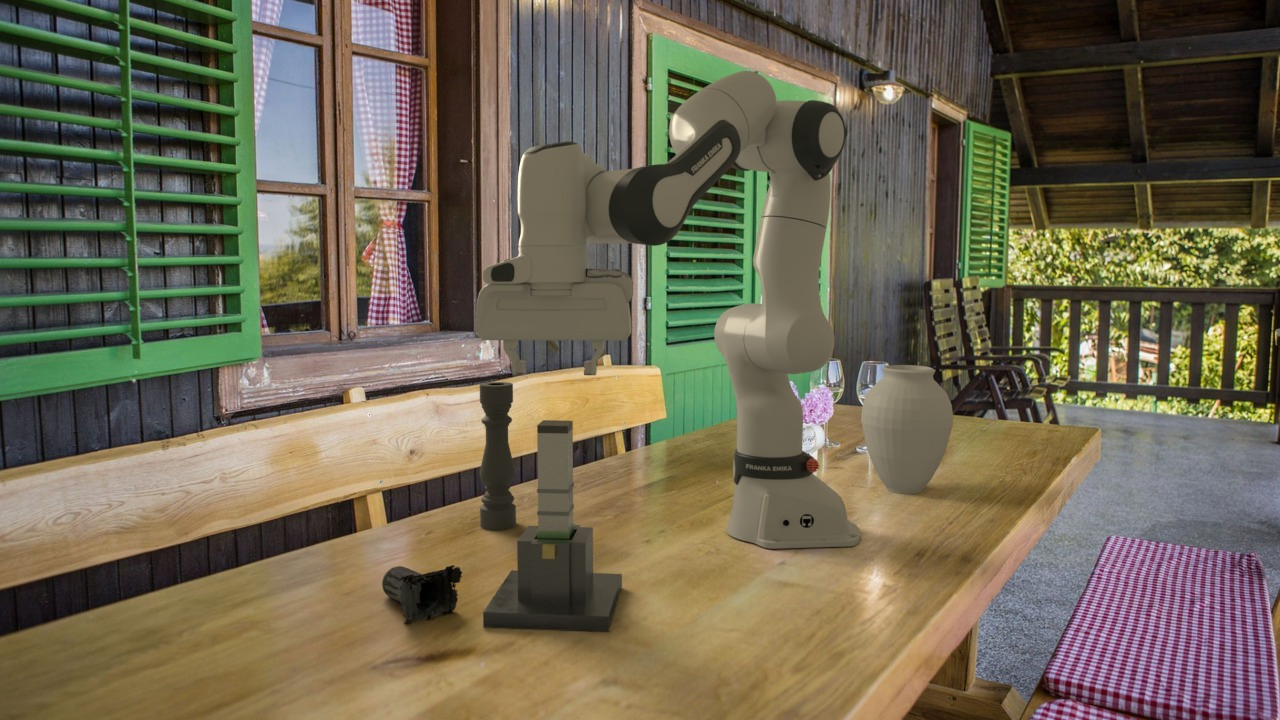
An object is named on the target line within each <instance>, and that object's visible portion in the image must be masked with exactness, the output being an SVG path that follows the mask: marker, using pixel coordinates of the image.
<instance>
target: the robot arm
mask: <svg viewBox="0 0 1280 720" xmlns="http://www.w3.org/2000/svg"><path fill="white" fill-rule="evenodd" d="M668 131H669V133H668V135H669V141H670V144H671V147H672V149H673V152H674V153H675V155H674V156H673V157H672V158H671V159H670V160H669V161H667V162H666V163H662V164H661V163H659V164H658V163H657V164H652V165H646V166H644V165H643V166H641V167H635V168H634V167H633V168H628V169H627V168H626V169H617V170H608V169H607V168H604V167H603V166H600V165H599V164H597V162H595V161H593V160H592V159H591V158H590V157H588V156H587V155H586V153H584V152H583V150H582V148H581V145H580V144H579V143H578V142H574V141H561V142H560V141H559V142H554V143H547V144H541V145H540V144H539V145H535V146H531V147H529V148H527V149H526V150H525V151H524V153H523V154H522V156H521V159H520V162H519V168H518V174H517V175H518V176H517V215H518V218H519V221H520V236H519V239H518V245H517V246H518V254H517V256H515V257H513V258H506V259H504V260H503V261H500V262H497V263H494V264H492V265H491V264H490V265H488V266H486V267H484V268H483V269H482V280H483V282H484V283H485V284H486V285H485V286H483V287H482V288H481V289H480V291H479V292H478V297H477V302H476V308H475V309H476V310H475V334H476V335H477V336H478V338H479V339H481V341H502V344H503V345H502V346H503V347H502V348H503V349H502V350H503V351H504V352H505V354H506V355H507V357H508V359H509V361H510V362H511V366H512V367H511V368H512V369H511V370H512V375H513V376H524V375H526V374H527V368H526V366H527V361H526V360H524V359H523V360H522V359H520V357H519V355H518V354H517V353H516V351H515V348H517V347H518V341H569V342H570V341H576V342H577V341H580V342H581V341H591V346H592V347H591V348H592V350H595V352H594V353H593V355H592V357H591V359H590V360H585V361H583V368H584V370H583V375H584V376H596V375H597V373H598V370H597V369H598V367H597V361H598V360H599V359H600V357H601V355H602V353H603V352H604V350H605V347H606V342H607V341H608V342H609V341H610V342H611V341H613V342H615V341H616V342H617V341H619V342H620V341H626V340H627V339H628V338H629V337H630V335H631V334H632V317H631V316H632V315H631V309H630V302H631V301H632V299H633V297H634V282H633V279H632V277H631V276H630V275H629V274H628V273H626V272H624V271H622V269H620V268H611V269H603V268H602V269H601V268H588V245H587V243H590V244H611V245H613V244H634V245H635V244H636V245H643V246H652V247H655V246H661V245H664V244H666V243H668V242H670V241H671V240H672V239H673V238H674V237H676V236H677V234H678V233H679V232H680V230H681V228H682V226H684V225H683V224H684V223H685V222H686V220H687V218H688V216H689V214H690V212H691V211H692V209H693V208H694V206H695V205H696V204H697V202H699V200H700V199H701V198H702V197H703V196H704V195H705V194H706V193H707V192H708V191H709V190H710V189H711V188H712V187H713V186H715V184H716V183H717V182H718V181H719V180H720V179H721V178H722V177H723V176H724V175H725V174H726V173H727V172H728V171H729V170H730V168H732V169H735V170H739V171H742V172H743V171H745V172H749V171H754V172H755V171H756V172H761V173H762V172H763V173H768V174H769V180H770V181H769V182H770V184H769V187H768V189H767V193H766V196H765V199H764V202H763V207H762V212H761V215H760V221H759V224H758V225H759V226H758V232H757V236H756V241H755V246H754V253H753V256H752V257H753V258H752V263H753V264H752V265H753V268H754V270H755V272H756V273H757V275H758V276H759V281H760V285H761V297H762V299H761V303H756V302H755V303H751V302H750V303H749V302H748V303H744V304H741V305H737V306H734V307H731V308H729V309H726V310H725V311H724V312H722V313H721V314H720V316H719V318H717V320H716V324H715V327H714V332H713V336H714V342H715V345H716V348H717V350H718V351H719V352H720V353H721V355H722V357H723V358H724V361H725V362H726V366H727V369H728V372H729V376H730V380H731V384H732V388H733V393H734V398H735V405H736V449H735V450H734V453H733V457H732V458H733V461H732V466H733V467H732V474H733V475H732V478H733V482H734V492H733V499H732V504H731V510H730V514H729V519H728V522H727V526H726V528H725V531H726V533H727V535H730V536H731V537H732V538H734V539H738V540H740V541H745V542H747V543H753V544H754V545H755V544H756V545H757V546H760V547H762V548H764V549H769V550H770V549H774V550H775V549H776V550H777V549H801V548H803V549H804V548H808V549H809V548H832V547H833V548H834V547H835V548H837V547H854V546H856V545H858V544H859V543H860V542H861V532H860V529H859V527H858V526H857V525H856V524H855V523H854V522H852V521H851V520H848V513H847V509H846V505H845V502H844V500H843V498H842V497H841V496H840V494H839V493H837V491H835V490H834V489H833V488H831V487H830V486H829V485H828V484H826V483H825V482H824V481H823V480H822V479H820V478H819V477H818V476H817V475H815V474H814V473H816V472H817V471H818V470H819V469H820V463H819V461H818V460H817V459H816V458H814V456H812V455H811V454H810V453H809V452H805V451H804V450H803V438H804V437H803V435H804V433H803V432H804V409H803V404H802V403H801V401H800V399H799V398H798V397H797V395H796V393H795V392H794V389H793V388H792V385H791V382H790V379H789V375H798V374H807V373H811V372H812V373H813V372H816V371H818V370H821V368H823V367H824V366H825V365H826V364H828V362H829V360H830V359H831V357H832V354H833V352H834V349H835V333H834V330H833V327H832V325H831V323H830V321H829V320H828V318H827V317H826V316H825V314H824V311H823V306H822V301H821V295H820V281H819V280H820V267H821V261H822V256H823V250H824V243H825V238H826V234H827V233H826V232H827V229H828V228H827V227H828V223H829V222H828V221H829V214H830V205H831V203H830V202H831V176H830V173H831V171H832V169H833V168H834V165H835V164H836V163H837V161H838V160H839V158H840V156H841V155H842V152H843V150H844V147H845V143H846V135H847V133H846V123H845V121H844V117H843V116H842V114H841V112H840V111H839V109H838V107H836V106H835V105H834V104H832V103H829V102H826V101H823V100H816V99H811V100H807V101H805V100H777V96H776V93H775V90H774V88H773V86H772V84H771V83H770V81H768V79H767V78H765V76H763V75H761V74H759V73H757V72H755V71H751V70H741V71H737V72H735V73H732V74H728V75H726V76H724V77H721V78H720V79H718V80H715V81H712V83H709V84H708V85H706V86H704V87H703V88H702V89H700V90H699V91H696V93H694V94H693V95H691V96H690V97H689V98H687V99H686V100H685V101H684V102H683V103H681V104H680V106H679V107H678V108H677V109H676V111H674V113H672V116H671V117H670V121H669V127H668ZM622 276H623V277H622Z"/></svg>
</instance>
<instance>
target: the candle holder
mask: <svg viewBox="0 0 1280 720" xmlns="http://www.w3.org/2000/svg"><path fill="white" fill-rule="evenodd" d="M513 402H514V383H512V382H507V381H504V382H503V381H490V382H483V383H480V384H479V403H480V404H481V409H482V410H483V413H484V414H485V416H483V417H482V418H481V423H482V424H483V425H484V427H485V445H484V449H483V450H484V451H483V455H482V460H481V464H480V469H479V477H480V480H481V482H482V483H483V484H484V488H485V490H486V491H485V492H484V494H483V496H482V497H481V503H482V504H481V505H480V507H479V515H480V516H479V520H480V527H481V529H483V530H487V531H503V530H508V529H513V528H514V527H516V526H517V506H516V504H515V503H514V501H515V497H514V496H515V495H513V494H512V492H511V490H510V489H511V486H512V485H511V484H512V483H513V481H514V479H515V476H516V469H515V465H514V461H513V456H512V453H511V447H510V443H509V426H510V424H511V423H512V421H513V418H512V417H511V416H510V415H509V412H510V409H511V408H512V403H513Z"/></svg>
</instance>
